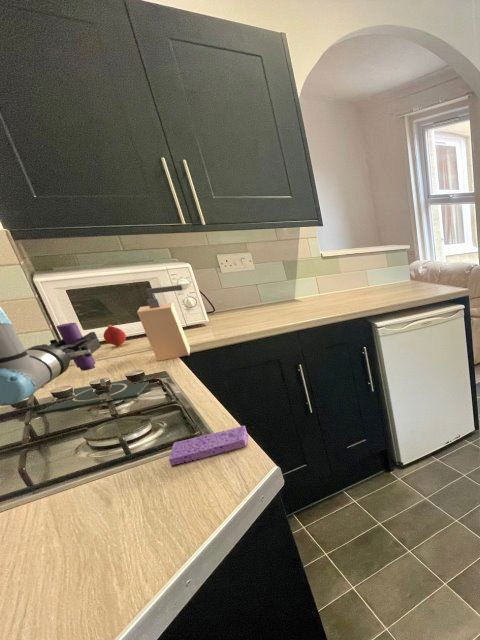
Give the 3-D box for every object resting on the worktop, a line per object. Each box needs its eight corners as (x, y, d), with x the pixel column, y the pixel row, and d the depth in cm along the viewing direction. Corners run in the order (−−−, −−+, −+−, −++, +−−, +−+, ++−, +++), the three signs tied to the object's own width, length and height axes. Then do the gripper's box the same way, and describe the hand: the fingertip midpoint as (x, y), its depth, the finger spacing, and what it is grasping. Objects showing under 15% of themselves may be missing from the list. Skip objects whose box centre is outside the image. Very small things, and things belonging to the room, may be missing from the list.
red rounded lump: (125, 342, 156) (116, 321, 153) (132, 344, 153) (122, 323, 150) (106, 347, 152) (96, 326, 148) (112, 349, 149) (102, 327, 146)
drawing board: (37, 414, 102) (35, 412, 102) (66, 391, 114) (65, 389, 114) (138, 396, 109) (137, 394, 109) (155, 377, 122) (154, 374, 122)
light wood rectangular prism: (157, 361, 135) (128, 293, 126) (159, 354, 141) (132, 289, 132) (204, 352, 141) (180, 286, 132) (204, 346, 148) (181, 283, 139)
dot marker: (76, 372, 108) (53, 327, 103) (82, 367, 111) (60, 324, 106) (94, 369, 110) (72, 325, 105) (99, 365, 113) (78, 321, 108)
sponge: (247, 447, 83) (244, 439, 83) (170, 467, 78) (166, 459, 77) (248, 432, 89) (245, 424, 88) (176, 450, 84) (172, 442, 83)
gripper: (-3, 389, 91) (51, 357, 111) (94, 373, 97) (129, 345, 117) (-23, 356, 88) (36, 329, 108) (79, 342, 94) (117, 319, 114)
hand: (84, 338), depth 112 cm, fingers closed on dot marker, 4 cm apart
